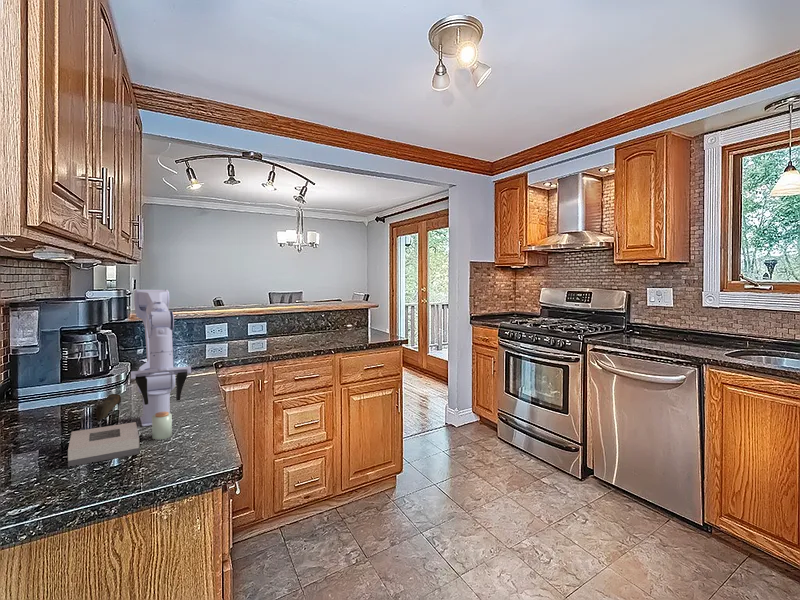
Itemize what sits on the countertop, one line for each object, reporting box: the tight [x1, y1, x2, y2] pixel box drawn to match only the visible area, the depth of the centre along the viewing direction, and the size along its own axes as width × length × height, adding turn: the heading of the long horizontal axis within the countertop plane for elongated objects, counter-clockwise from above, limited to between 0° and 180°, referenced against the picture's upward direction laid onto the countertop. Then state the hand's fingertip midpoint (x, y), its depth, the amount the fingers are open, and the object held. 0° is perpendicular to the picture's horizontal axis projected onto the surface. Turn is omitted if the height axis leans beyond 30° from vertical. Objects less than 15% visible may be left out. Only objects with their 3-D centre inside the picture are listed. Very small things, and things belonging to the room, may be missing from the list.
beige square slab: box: [67, 421, 140, 468], centre depth 105 cm, size 14×14×4 cm
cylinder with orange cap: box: [151, 412, 173, 441], centre depth 115 cm, size 5×5×7 cm
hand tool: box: [95, 393, 122, 422], centre depth 135 cm, size 19×4×5 cm, turn 20°
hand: (162, 402), depth 114 cm, fingers open, 7 cm apart
